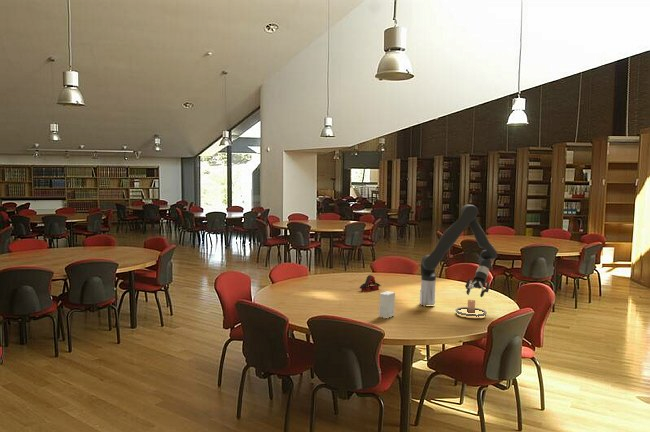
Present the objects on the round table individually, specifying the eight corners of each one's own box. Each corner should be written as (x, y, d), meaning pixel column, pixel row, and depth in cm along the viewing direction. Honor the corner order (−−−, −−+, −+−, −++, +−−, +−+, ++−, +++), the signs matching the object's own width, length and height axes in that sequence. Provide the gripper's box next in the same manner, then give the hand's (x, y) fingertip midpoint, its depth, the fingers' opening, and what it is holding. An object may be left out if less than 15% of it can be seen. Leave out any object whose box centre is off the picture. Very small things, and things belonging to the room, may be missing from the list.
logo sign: (361, 292, 372) (362, 276, 371) (359, 291, 375) (359, 276, 374) (381, 289, 382) (381, 274, 381) (378, 288, 385) (378, 273, 384)
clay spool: (468, 315, 315) (468, 301, 314) (466, 313, 319) (467, 299, 318) (475, 315, 315) (476, 301, 314) (473, 313, 319) (474, 299, 318)
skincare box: (386, 314, 314) (387, 290, 313) (394, 316, 310) (395, 292, 309) (378, 317, 308) (379, 292, 306) (386, 319, 304) (387, 294, 302)
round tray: (459, 318, 308) (459, 314, 308) (452, 310, 326) (453, 306, 326) (489, 319, 308) (490, 315, 308) (481, 311, 326) (481, 307, 325)
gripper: (469, 269, 330) (461, 290, 321) (491, 272, 321) (484, 293, 313) (472, 276, 334) (464, 296, 326) (493, 279, 326) (486, 300, 318)
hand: (474, 295), depth 320 cm, fingers open, 8 cm apart
